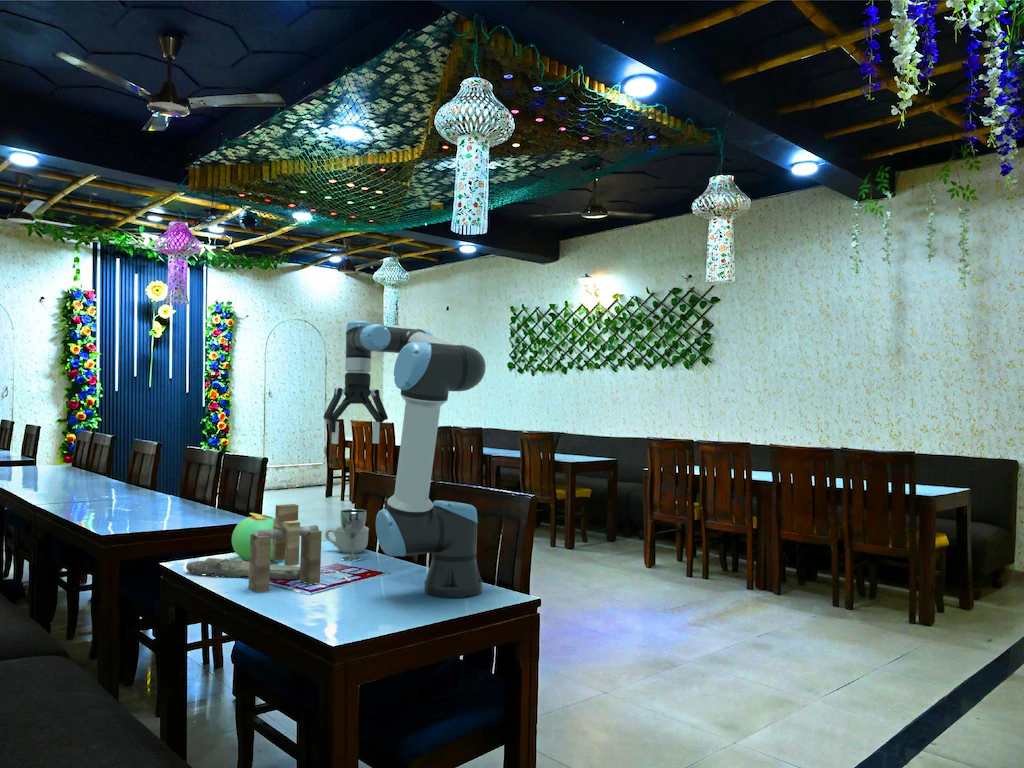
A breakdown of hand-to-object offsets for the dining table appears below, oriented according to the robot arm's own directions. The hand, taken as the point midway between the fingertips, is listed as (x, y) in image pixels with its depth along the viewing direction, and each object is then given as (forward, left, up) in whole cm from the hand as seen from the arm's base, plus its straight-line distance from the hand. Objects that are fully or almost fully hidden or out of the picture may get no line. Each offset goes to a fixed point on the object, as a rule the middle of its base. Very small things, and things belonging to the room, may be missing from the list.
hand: (355, 443), depth 215 cm
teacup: (+22, -10, -37) cm, 44 cm away
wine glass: (+11, -6, -37) cm, 39 cm away
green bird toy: (+24, +18, -37) cm, 48 cm away
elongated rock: (+8, +28, -37) cm, 48 cm away
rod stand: (-10, +25, -37) cm, 46 cm away
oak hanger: (-10, +25, -30) cm, 41 cm away
